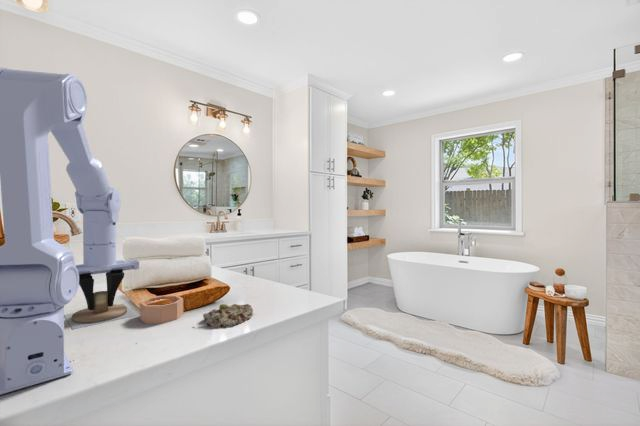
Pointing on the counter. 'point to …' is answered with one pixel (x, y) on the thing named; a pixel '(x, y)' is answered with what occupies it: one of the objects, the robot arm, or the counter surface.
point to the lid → (99, 310)
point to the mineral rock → (228, 315)
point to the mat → (80, 325)
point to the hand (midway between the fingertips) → (100, 307)
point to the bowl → (161, 310)
